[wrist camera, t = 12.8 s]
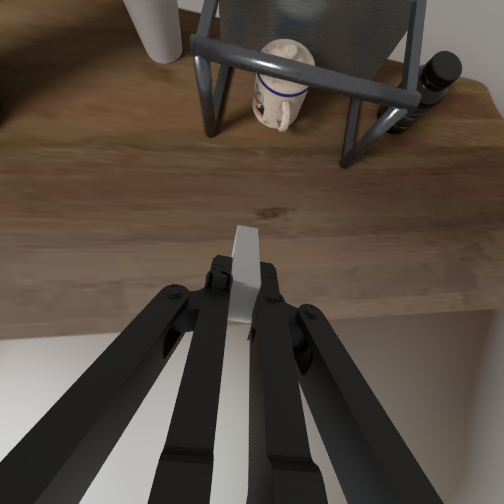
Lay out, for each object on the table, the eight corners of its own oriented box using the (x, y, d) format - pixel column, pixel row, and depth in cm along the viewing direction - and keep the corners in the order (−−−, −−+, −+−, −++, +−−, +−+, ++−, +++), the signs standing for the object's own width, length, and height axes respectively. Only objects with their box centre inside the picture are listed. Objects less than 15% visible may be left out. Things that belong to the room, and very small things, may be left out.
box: (203, 136, 43) (188, 44, 26) (222, 57, 45) (218, -75, 28) (348, 169, 45) (420, 104, 28) (360, 92, 47) (433, -12, 30)
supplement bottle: (415, 119, 48) (477, 66, 36) (395, 142, 47) (452, 96, 35) (389, 96, 48) (443, 35, 36) (368, 118, 47) (416, 63, 35)
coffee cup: (194, 30, 45) (178, -92, 30) (186, 76, 44) (164, -27, 29) (142, 19, 44) (99, -112, 30) (132, 65, 43) (81, -47, 28)
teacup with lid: (249, 84, 45) (256, 17, 33) (297, 85, 46) (320, 20, 34) (253, 146, 44) (262, 98, 32) (302, 145, 45) (328, 99, 33)
